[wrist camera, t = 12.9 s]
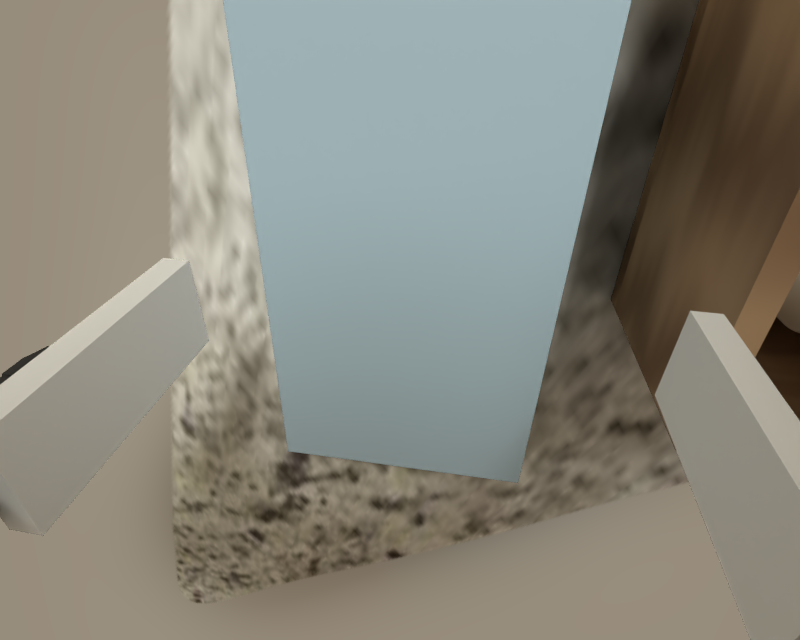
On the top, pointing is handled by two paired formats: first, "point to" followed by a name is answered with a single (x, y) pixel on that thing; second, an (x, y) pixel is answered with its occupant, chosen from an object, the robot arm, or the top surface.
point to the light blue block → (418, 212)
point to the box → (723, 196)
